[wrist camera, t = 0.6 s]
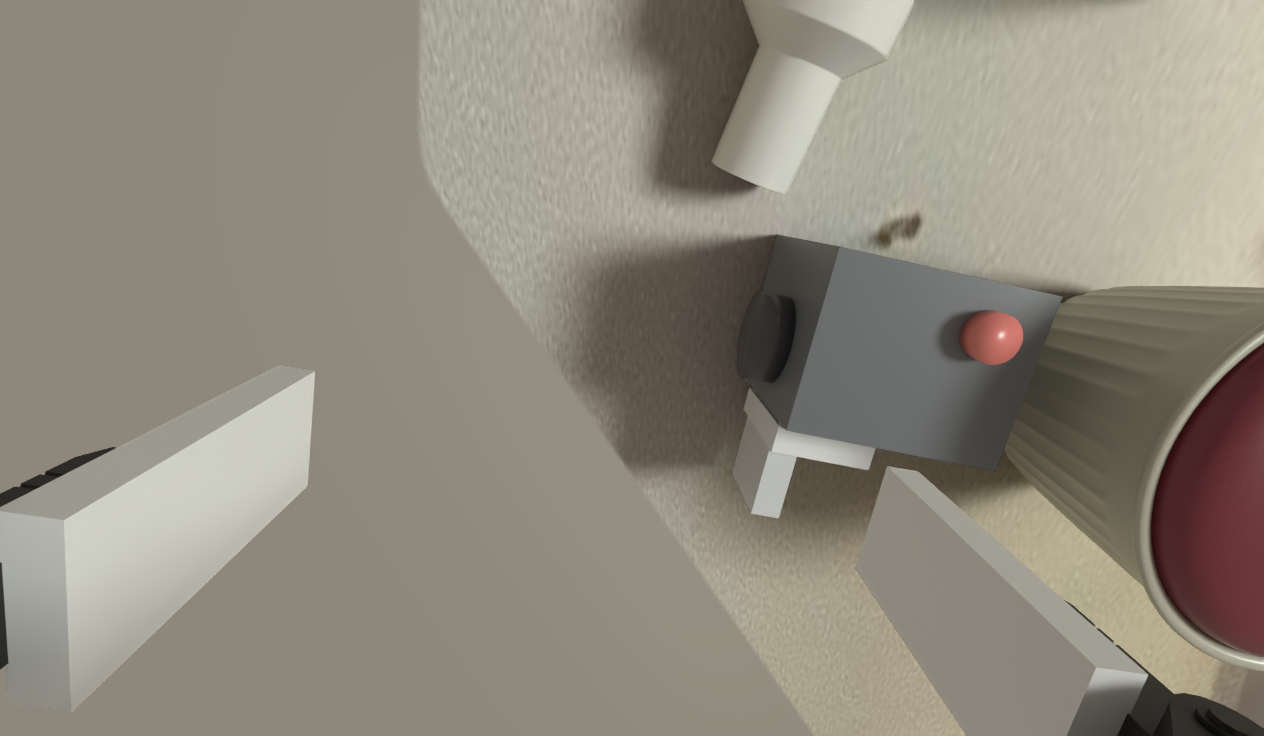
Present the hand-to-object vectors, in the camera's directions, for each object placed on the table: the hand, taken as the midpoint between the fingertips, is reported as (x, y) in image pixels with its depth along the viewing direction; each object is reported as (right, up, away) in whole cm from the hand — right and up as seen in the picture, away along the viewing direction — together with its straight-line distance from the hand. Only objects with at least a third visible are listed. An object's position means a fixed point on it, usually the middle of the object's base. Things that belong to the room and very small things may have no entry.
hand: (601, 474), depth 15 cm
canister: (+30, +1, +29) cm, 42 cm away
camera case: (+14, +5, +27) cm, 31 cm away
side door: (+10, -2, +27) cm, 29 cm away
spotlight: (+9, +19, +23) cm, 32 cm away
